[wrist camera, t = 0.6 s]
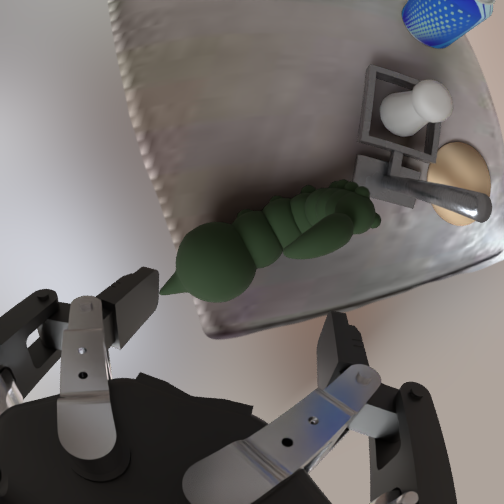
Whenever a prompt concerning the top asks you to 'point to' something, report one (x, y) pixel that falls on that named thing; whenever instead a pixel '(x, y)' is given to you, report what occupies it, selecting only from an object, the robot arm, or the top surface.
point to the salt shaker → (416, 108)
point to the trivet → (459, 175)
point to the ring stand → (403, 179)
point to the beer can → (444, 19)
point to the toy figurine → (269, 239)
